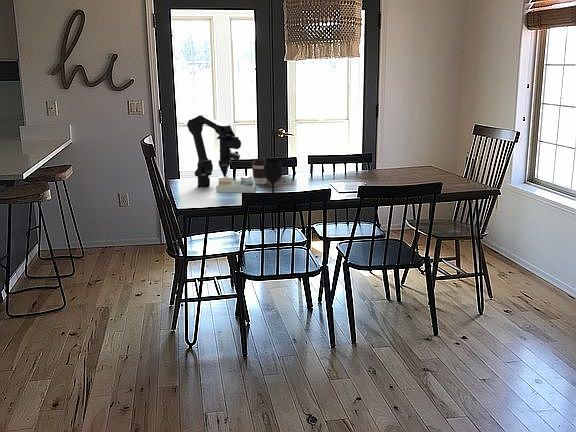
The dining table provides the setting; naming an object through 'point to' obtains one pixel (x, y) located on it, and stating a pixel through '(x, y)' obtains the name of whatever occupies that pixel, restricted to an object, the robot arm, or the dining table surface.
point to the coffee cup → (258, 171)
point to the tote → (235, 187)
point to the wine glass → (273, 171)
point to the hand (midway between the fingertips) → (225, 175)
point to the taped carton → (225, 181)
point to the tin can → (246, 181)
